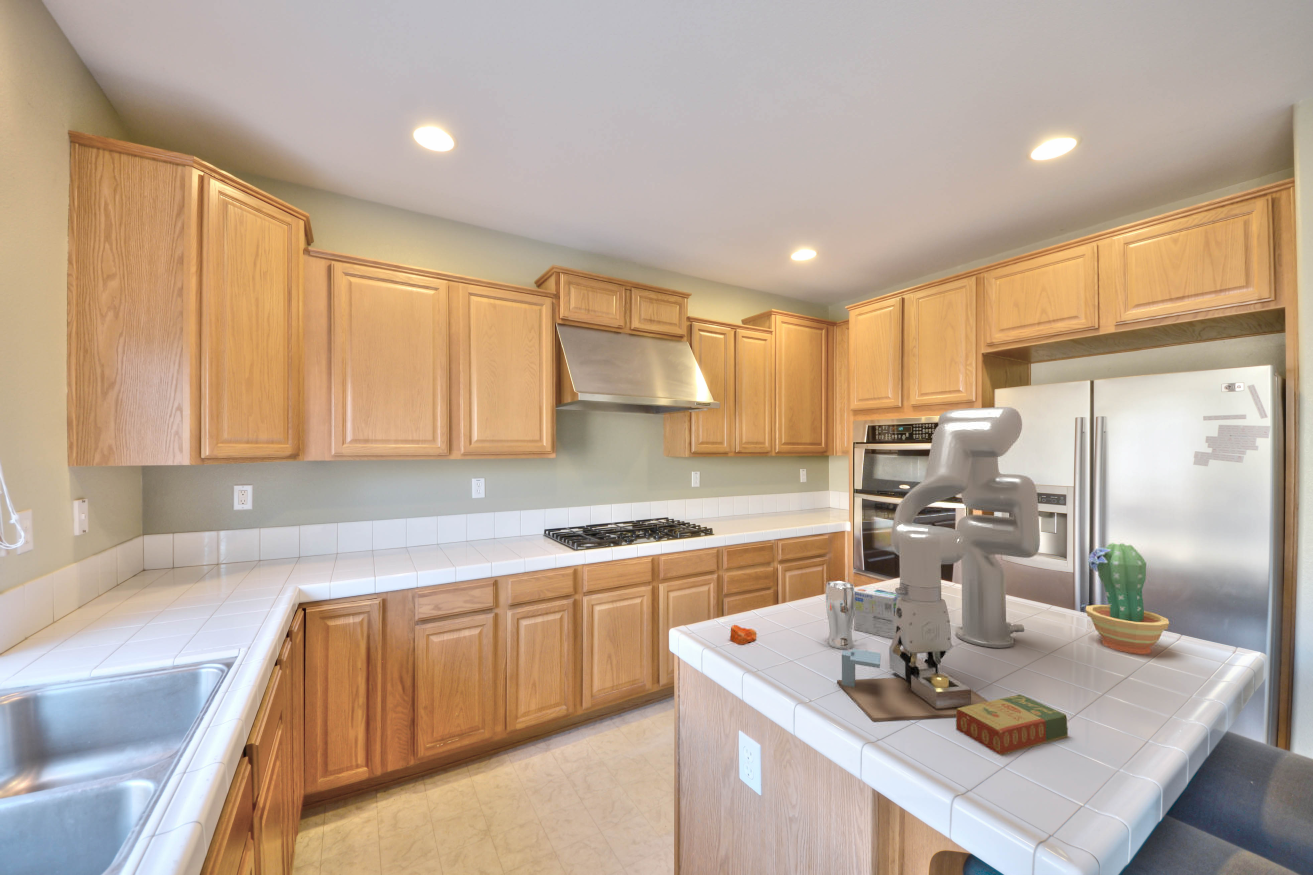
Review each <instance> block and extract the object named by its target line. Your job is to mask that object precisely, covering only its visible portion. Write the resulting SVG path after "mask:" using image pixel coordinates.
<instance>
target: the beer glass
mask: <svg viewBox="0 0 1313 875" xmlns="http://www.w3.org/2000/svg"><path fill="white" fill-rule="evenodd" d="M825 588H826V589H825V608H826V614H827V621H828V626H829V627H828V628H829V630H828V631H829V632H828V639H827V645H829V646H830V647H831V648H834V649H837V650H838V649H839V650H852V649H854V646H855V643H854V640H853V632H852V631H853V626H854V623H853V622H854V613H855V592H854V590H855V585H854V584H853V583H851V582H847V581H842V580H841V581H840V580H830V581H827V582H826V587H825Z"/></svg>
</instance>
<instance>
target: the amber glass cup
mask: <svg viewBox="0 0 1313 875" xmlns="http://www.w3.org/2000/svg"><path fill="white" fill-rule="evenodd" d="M939 673H940V672H938V673H933V674H931V684H932V685H933V686H935V687H936V688H949V678H948V677H947V676H946V675H943V674H939Z"/></svg>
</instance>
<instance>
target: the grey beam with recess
mask: <svg viewBox="0 0 1313 875" xmlns="http://www.w3.org/2000/svg"><path fill="white" fill-rule="evenodd" d="M888 650H889V649H888ZM900 650H902V651H903V648H900ZM888 652H889V653H888V654H889V656H888V657H889V659H888V660H889V669H890V670H891V671H893V672H894V673H896V674H897V675H899V676H900V677H903V678H904V679H906V677H905V662H904V661H903V660H902V659H901V658H900V657H899V656H898V655H896V654H894V653H893V652H891V651H890V650H889V651H888ZM909 657H910V654H909ZM924 661H925V660H924V659H922V658H920V657H918V656H917V659H916V666H917V667H918V668H919V669H918V670H919V675H911V690H912V691H913V692H914V693H916V694H917V695H918V696H920V697H921V698H923V699H924V700H925V701H927V702H928V703H929V704H931V705H932V706H934V707H935V708H936V709H939V708H949V707H960V706H970V705H971V690H972V689H971V688H970V687H969V686H967V685H966V684H964V683H962V682H961V681H959V680H958V679H957V680H958V681H957V680H955V679H956V678H955V677H954V678H955V679H954V678H952V677H953V676H952V677H950V676H949V675H950V674H947V673H946V672H938V673H939V674H943V675H946V676H947V677H948V678H949V688H936V687H935V686H933V685H932V684H931V674H933V673H936V672H935V668H934V667H933V666H931V665H929V664H928V663H926V662H924ZM960 682H961V683H960ZM963 684H964V685H963Z"/></svg>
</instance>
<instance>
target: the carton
mask: <svg viewBox="0 0 1313 875" xmlns="http://www.w3.org/2000/svg"><path fill="white" fill-rule="evenodd" d="M956 710H957V711H956V717H955V718H956V719H955V724H956V725H955V726H956V727H955V730H957V731H959V732H960V733H962V734H964V735H965V736H967V737H969V738H970V739H973V740H974V741H975V742H977V743H979V744H981V745H983V747H986V748H987V749H989V750H991V751H993V752H994V753H996V754H997V755H1006V754H1009V753H1013V752H1017V751H1021V750H1026V749H1027V748H1031V747H1035V746H1038V745H1042V744H1047V743H1050V742H1053V741H1058V740H1062V739H1066V738H1068V737H1069V736H1068V735H1069V733H1068V732H1069V731H1068V730H1069V727H1068V718H1067V715H1066V713H1064V712H1062V711H1059V710H1057V709H1054V708H1052V707H1050V706H1048V705H1046V704H1043V703H1040V702H1039V701H1036V700H1034V699H1032V698H1029V697H1028V696H1025V695H1023V694H1015V695H1010V696H1006V697H1002V698H998V699H993V700H990V701H989V700H988V702H983V703H979V704H974V705H970V706H965V707H961V708H957V709H956Z"/></svg>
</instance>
